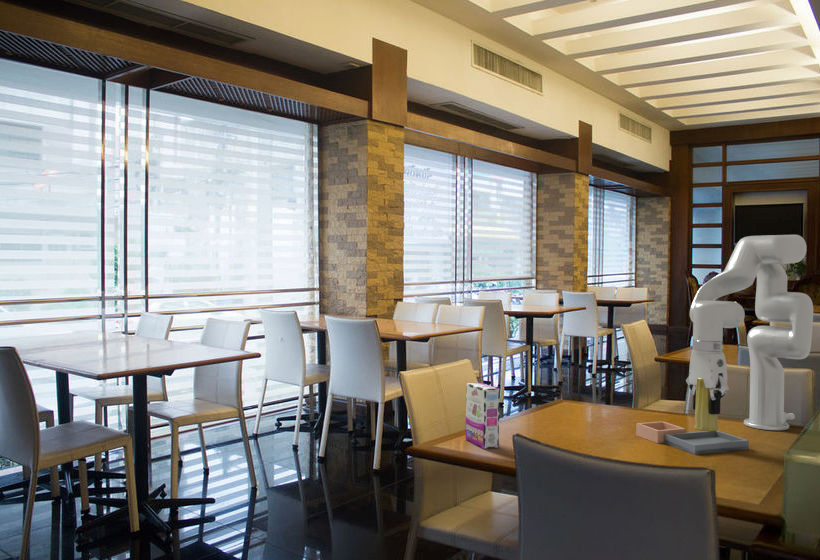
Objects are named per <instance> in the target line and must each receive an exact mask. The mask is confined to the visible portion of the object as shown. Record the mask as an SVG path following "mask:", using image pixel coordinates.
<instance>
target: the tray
mask: <svg viewBox="0 0 820 560" xmlns="http://www.w3.org/2000/svg"><path fill="white" fill-rule="evenodd" d="M749 442H750V441H749V439H746V438H743V437H740V436H739V437H738V436H737V435H733V434H730V433H726V432H722V431H720V430H717V431H702V430H698V431H689V432H686V433H675V434H665V440H664V443H663V444H665V445H668V446H671V447H673V448H676V449H679V450H682V451H683V452H686V453H690V454H691V455H696V456H697V455H704V454H715V453H717V454H718V453H725V452H736V451H737V452H738V451H745V450H746V451H747V450H749V447H750V446H749Z"/></svg>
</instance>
